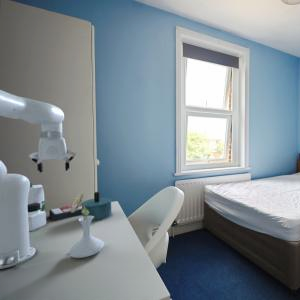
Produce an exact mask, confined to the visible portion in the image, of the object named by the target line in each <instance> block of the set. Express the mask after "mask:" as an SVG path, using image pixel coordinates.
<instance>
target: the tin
mask: <svg viewBox="0 0 300 300" xmlns="http://www.w3.org/2000/svg"><path fill="white" fill-rule="evenodd" d="M83 208H84V207H83V206H82V209H83ZM85 208H86V209H87V210H88V211H89V214H88V215H87V216H94V218H93V219H92V221H91V222H97V221H102V220H105V219H109V218H110V217H111V216H112V202H110V203H108V204H105V205H101V206H95V207H85ZM84 216H85V215H84V214H82V215H81V217H84Z"/></svg>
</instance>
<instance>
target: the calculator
mask: <svg viewBox="0 0 300 300" xmlns="http://www.w3.org/2000/svg"><path fill="white" fill-rule="evenodd" d="M72 206H73V205H67V206H61V207H57V208H52V209H49V211H48V212H49V214H48V215H49V218H50V219H51V220H52V221H54V222H55V221H59V220H63V219H68V218H72V217H77V216H82V206H81V205H80V206H79V207H78V209H77V210H76V211H75V212H72V213H71V211H72V210H70V209H71V208H72Z"/></svg>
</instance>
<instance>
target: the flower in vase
mask: <svg viewBox="0 0 300 300" xmlns="http://www.w3.org/2000/svg"><path fill="white" fill-rule="evenodd" d="M84 198H85V192H84V191H80V192H79V193H78V194H77V195H76V197H75V199H74V201H73V202H72V205H71V206H72V208H71V209H70V210H72V211H71V213H72V212H75V211H76V210H77V209H78V207H79V206H80V205H81V204H82V205H83V203H82V202H83V200H84ZM83 207H84V208H83V209H82V214H84V215H85V216H84V217H82V216H81V217H79V218H78V222H79V223H80V224H81V226H82V237H81V239H80V240H79V241H77V242H76V243H75V244H73V246H71V248H70V249H69V252H68V255H69V256H70V257H71V258H74V259H83V258H88V257H91V256H93V255H95V254H97V253H99V252H100V251H102V250H103V249H104V247H105V243H104V241H102V239H100V238H98V237H95V236H93V235H92V233H91V223H92V222H93V221H92V219H93V218H94V216H87V215H88V214H89V211H88V210H87V209H86V208H85V206H84V205H83Z"/></svg>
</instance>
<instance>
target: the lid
mask: <svg viewBox="0 0 300 300" xmlns="http://www.w3.org/2000/svg"><path fill="white" fill-rule="evenodd" d="M110 202H111V203H112V202H113V199H112V198H111V197H100V191H94V193H93V198H91V199H87V200H84V201H82V203H83V205H84V206H85V207H95V206H101V205H105V204H108V203H110ZM83 205H82V204H81V206H83Z"/></svg>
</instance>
